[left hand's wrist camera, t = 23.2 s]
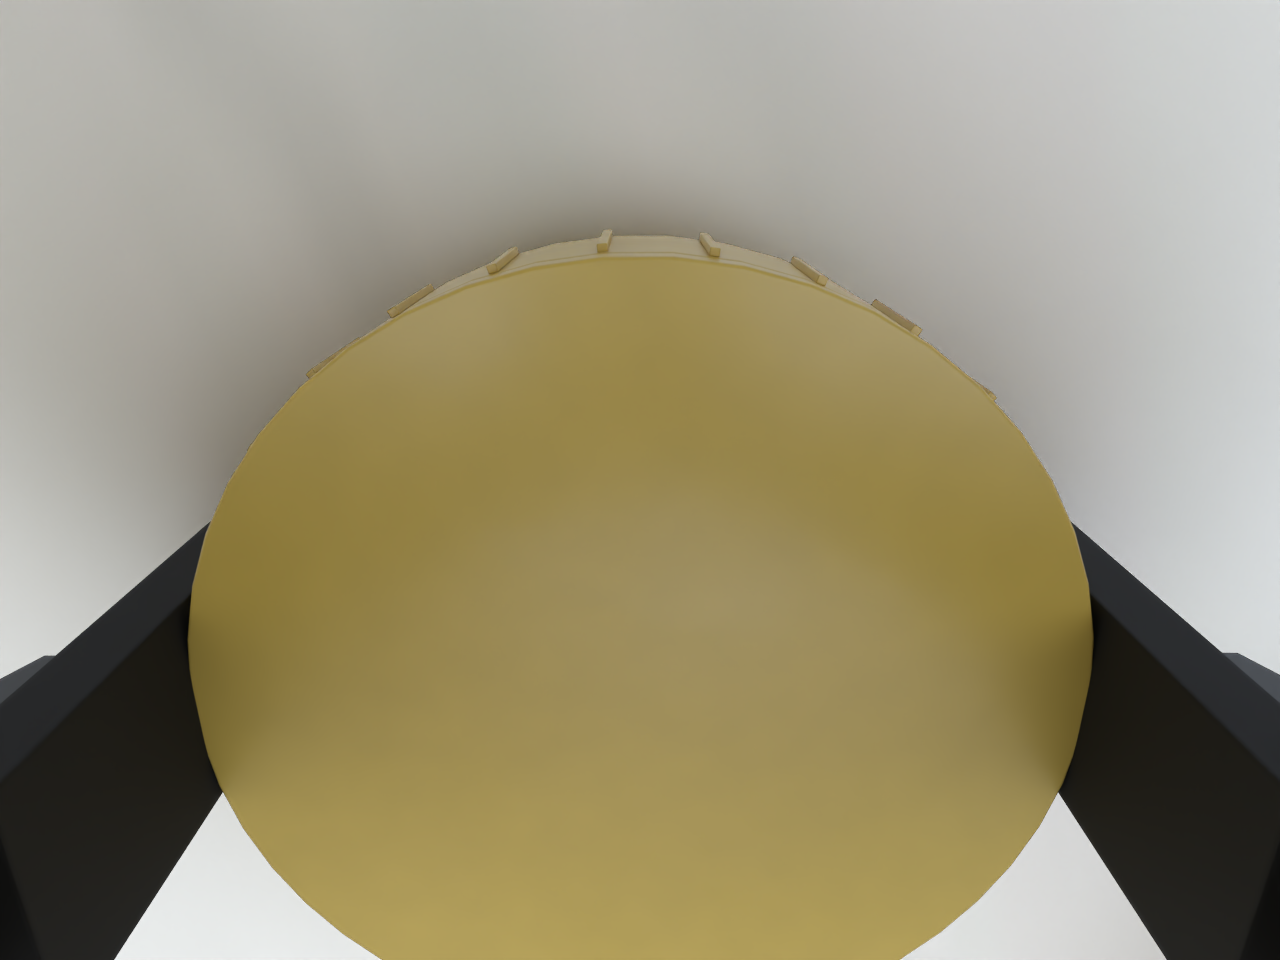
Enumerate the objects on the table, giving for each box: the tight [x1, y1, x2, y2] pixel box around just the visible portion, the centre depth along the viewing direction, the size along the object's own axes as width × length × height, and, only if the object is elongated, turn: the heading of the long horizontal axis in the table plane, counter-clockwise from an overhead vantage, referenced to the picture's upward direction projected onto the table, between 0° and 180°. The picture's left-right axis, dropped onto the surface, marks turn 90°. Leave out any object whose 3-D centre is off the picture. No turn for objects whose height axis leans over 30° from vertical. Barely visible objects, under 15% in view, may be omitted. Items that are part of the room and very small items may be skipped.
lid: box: [187, 229, 1094, 960], centre depth 11 cm, size 11×11×2 cm
